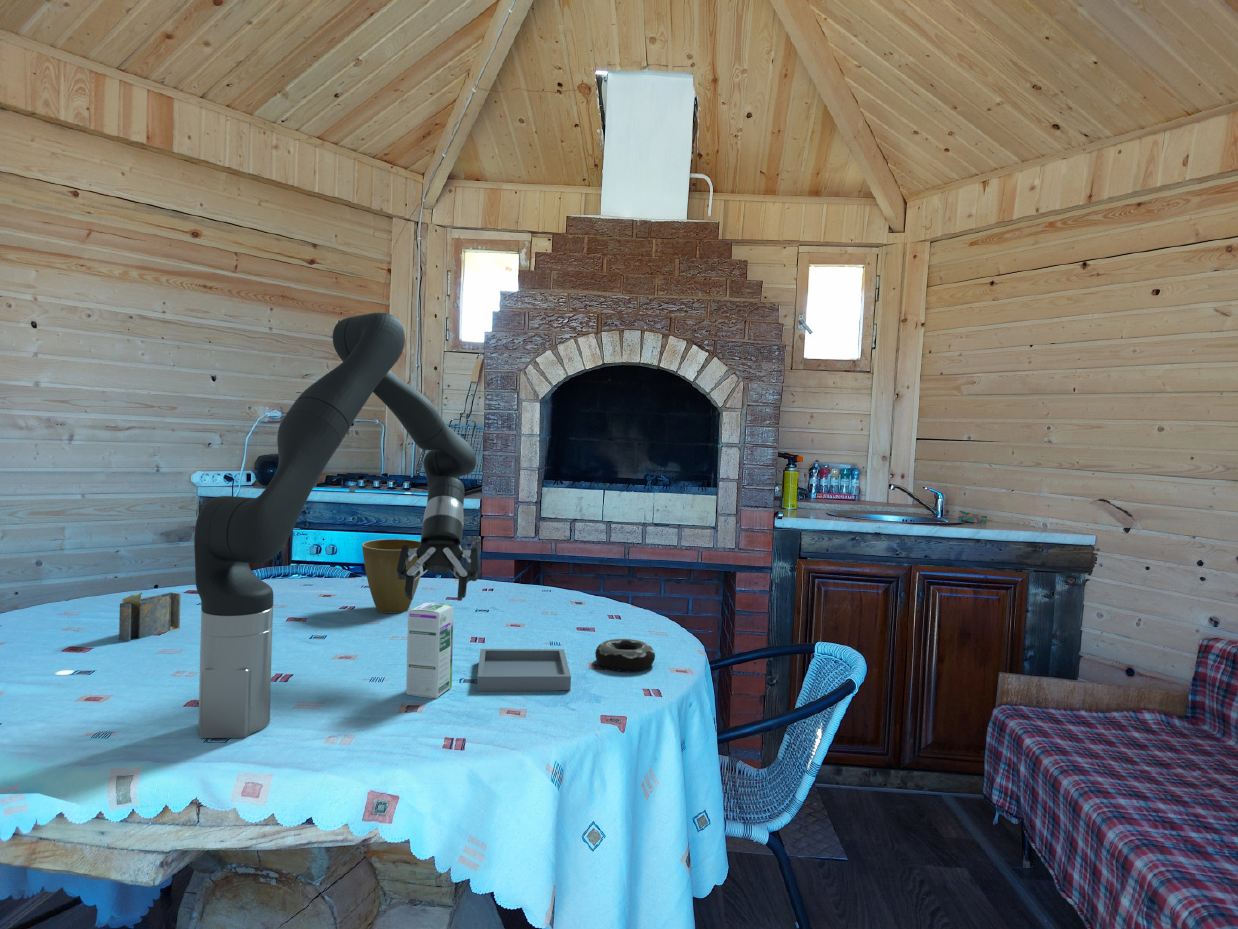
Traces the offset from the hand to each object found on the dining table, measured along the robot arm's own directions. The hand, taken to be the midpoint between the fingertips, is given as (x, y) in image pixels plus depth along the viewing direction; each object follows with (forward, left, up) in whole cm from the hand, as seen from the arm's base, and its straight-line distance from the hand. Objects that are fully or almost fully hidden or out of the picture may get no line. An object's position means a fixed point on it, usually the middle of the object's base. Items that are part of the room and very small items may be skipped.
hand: (435, 598), depth 132 cm
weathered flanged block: (+27, +58, -15) cm, 66 cm away
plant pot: (+49, +14, -15) cm, 53 cm away
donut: (+8, -36, -15) cm, 40 cm away
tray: (+1, -16, -14) cm, 22 cm away
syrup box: (-7, 0, -15) cm, 16 cm away
